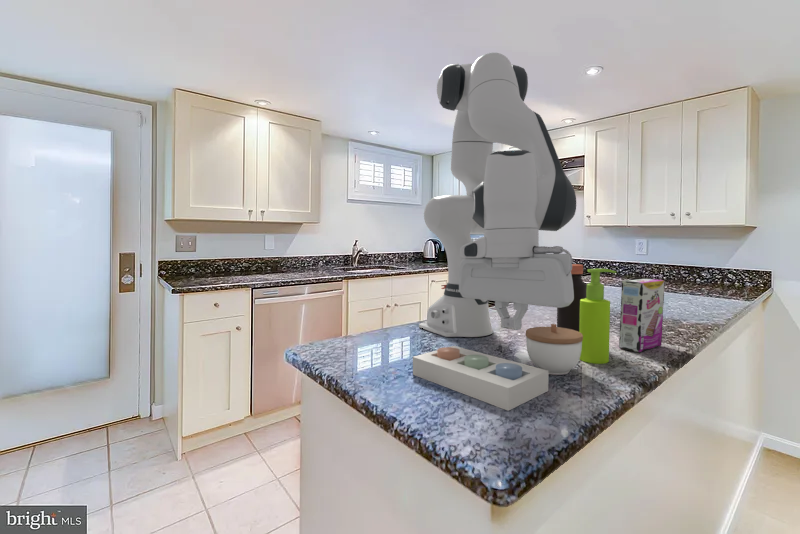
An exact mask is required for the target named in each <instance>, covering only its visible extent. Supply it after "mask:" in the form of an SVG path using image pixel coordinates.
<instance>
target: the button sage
mask: <svg viewBox="0 0 800 534" xmlns="http://www.w3.org/2000/svg"><path fill="white" fill-rule="evenodd" d="M464 366H468V367H471V368H474V369H478V370H480V369H483V368H486V367H488V366H489V358H488V357H486V356H483V355H467V356H465V357H464Z"/></svg>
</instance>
